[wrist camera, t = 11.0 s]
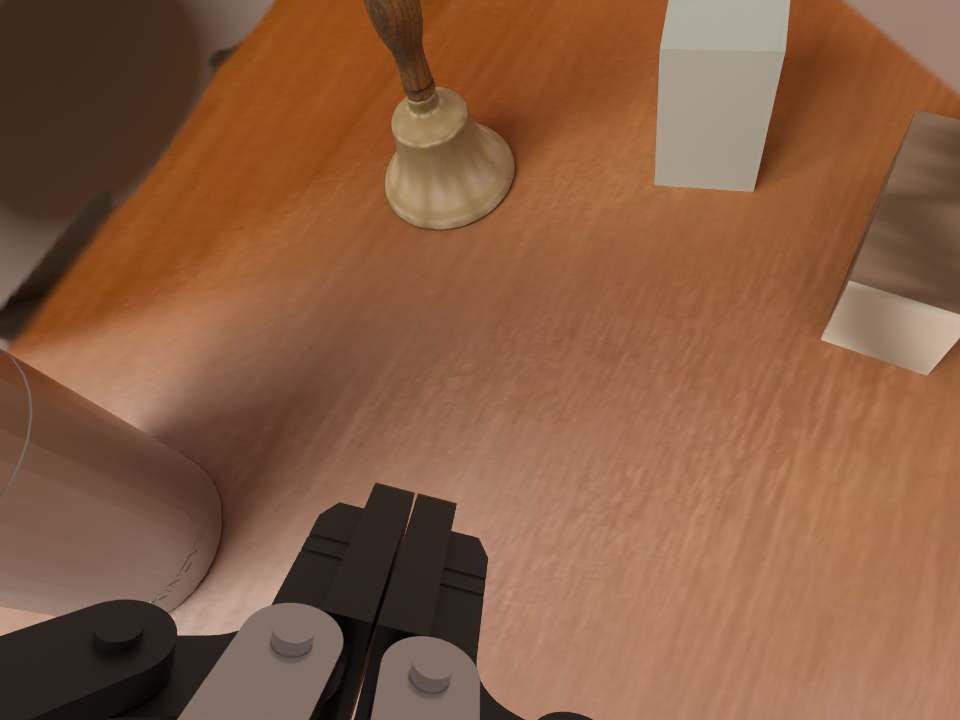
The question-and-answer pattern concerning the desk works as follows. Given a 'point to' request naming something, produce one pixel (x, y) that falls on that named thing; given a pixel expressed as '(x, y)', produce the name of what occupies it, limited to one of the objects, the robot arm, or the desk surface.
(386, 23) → the hand bell
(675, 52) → the grey block
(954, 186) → the walnut wood block
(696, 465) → the desk surface
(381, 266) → the desk surface
